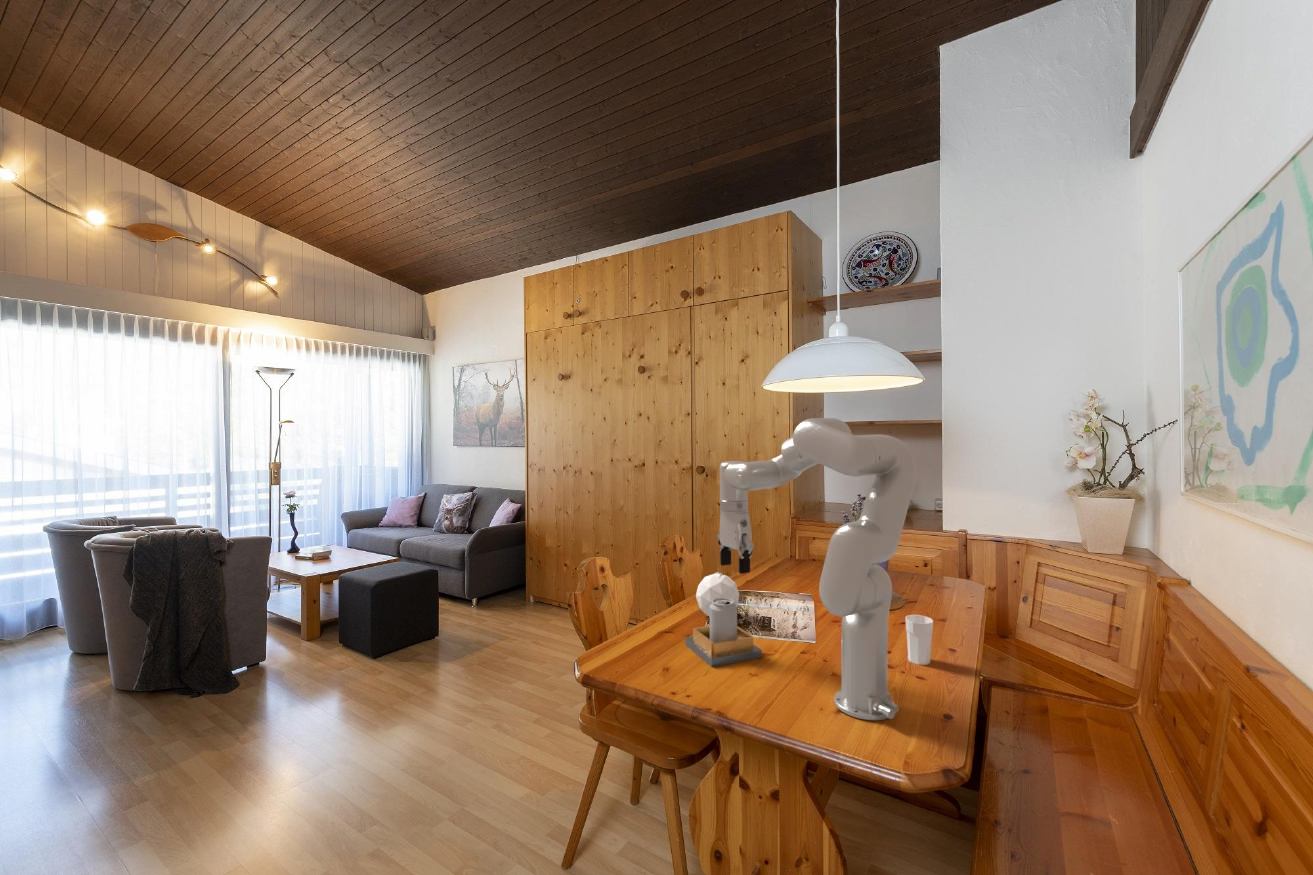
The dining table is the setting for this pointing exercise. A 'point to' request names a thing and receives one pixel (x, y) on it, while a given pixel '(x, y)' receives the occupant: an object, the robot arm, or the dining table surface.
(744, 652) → the open square box
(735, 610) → the can
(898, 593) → the dining table surface
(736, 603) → the geodesic sphere
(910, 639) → the cup
